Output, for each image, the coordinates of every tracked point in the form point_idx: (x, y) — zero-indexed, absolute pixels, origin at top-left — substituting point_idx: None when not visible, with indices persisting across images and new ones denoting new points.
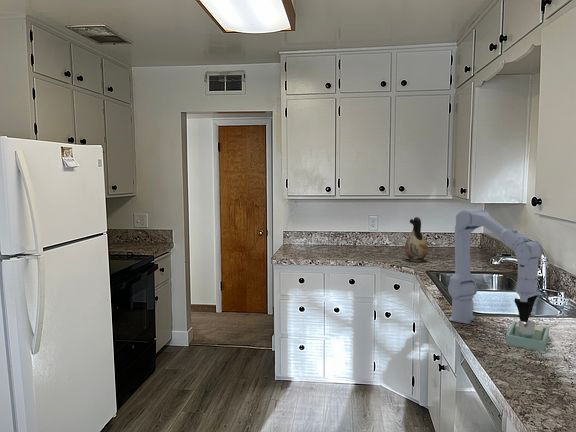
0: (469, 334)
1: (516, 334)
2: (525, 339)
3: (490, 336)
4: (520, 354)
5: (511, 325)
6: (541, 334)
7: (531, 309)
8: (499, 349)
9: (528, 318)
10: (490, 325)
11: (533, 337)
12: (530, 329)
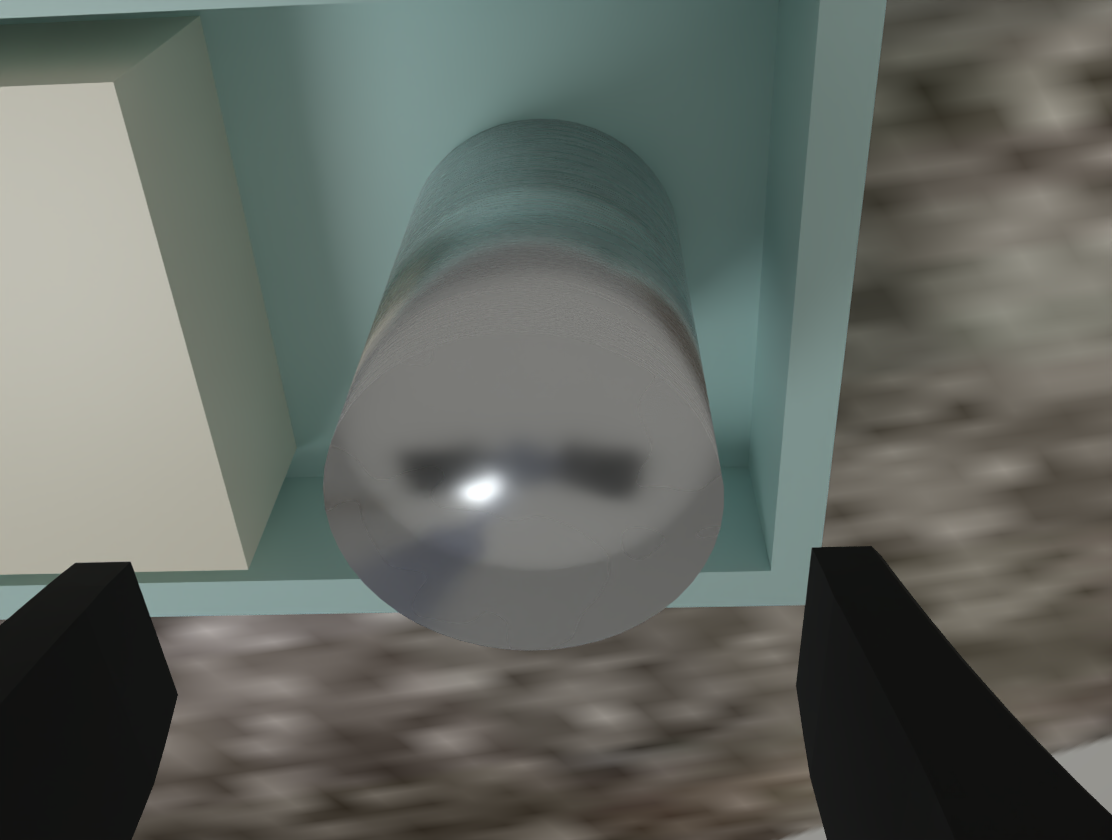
0: (574, 835)
1: (286, 446)
2: (844, 301)
3: (469, 669)
4: (1027, 235)
5: (195, 611)
6: (153, 65)
7: (19, 705)
8: (948, 506)
9: (921, 610)
10: None
11: (584, 186)
12: (683, 339)
